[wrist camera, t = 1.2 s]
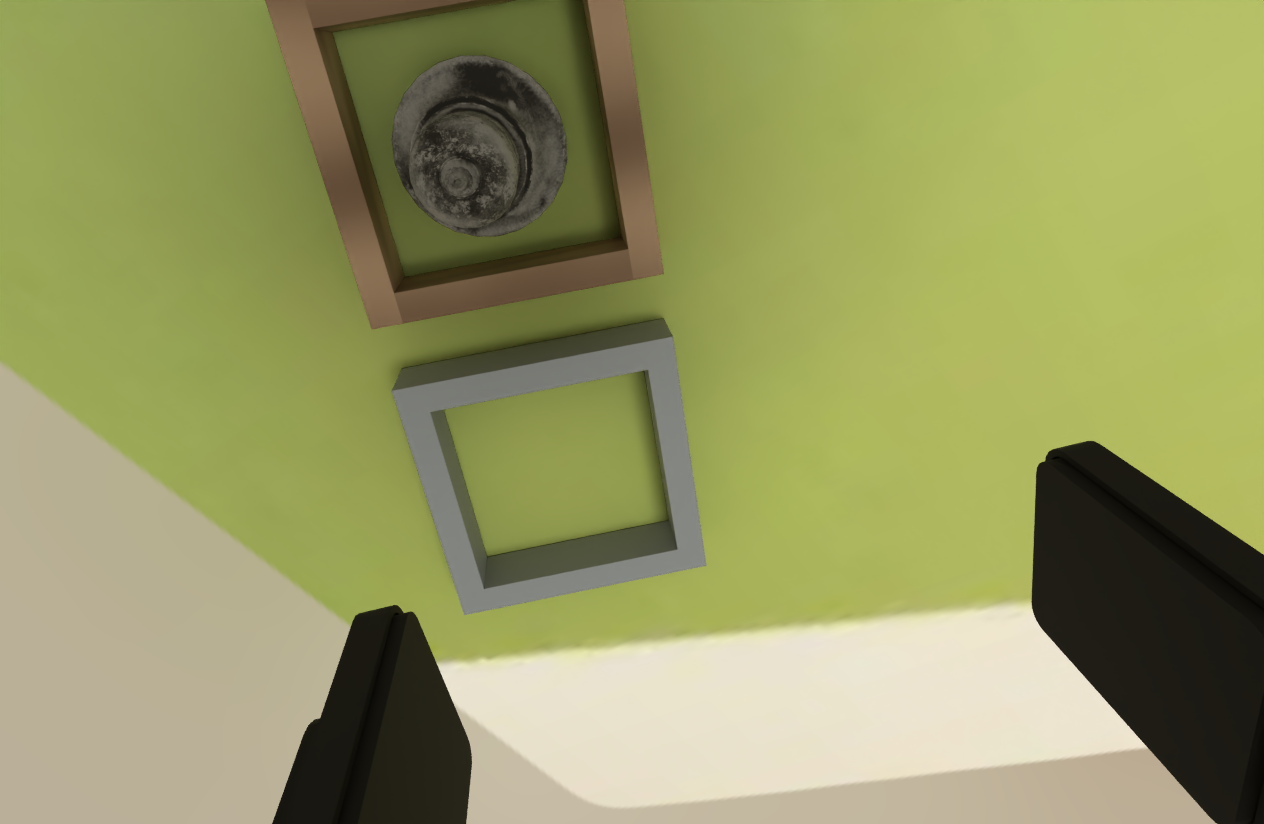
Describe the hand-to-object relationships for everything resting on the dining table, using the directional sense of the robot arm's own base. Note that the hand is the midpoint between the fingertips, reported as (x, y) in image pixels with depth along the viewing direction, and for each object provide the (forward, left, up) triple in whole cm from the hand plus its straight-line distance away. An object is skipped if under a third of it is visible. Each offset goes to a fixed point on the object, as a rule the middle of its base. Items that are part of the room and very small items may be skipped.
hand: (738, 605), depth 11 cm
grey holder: (+9, -4, -22) cm, 24 cm away
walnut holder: (-5, -4, -22) cm, 23 cm away
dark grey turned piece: (-5, -4, -23) cm, 23 cm away
